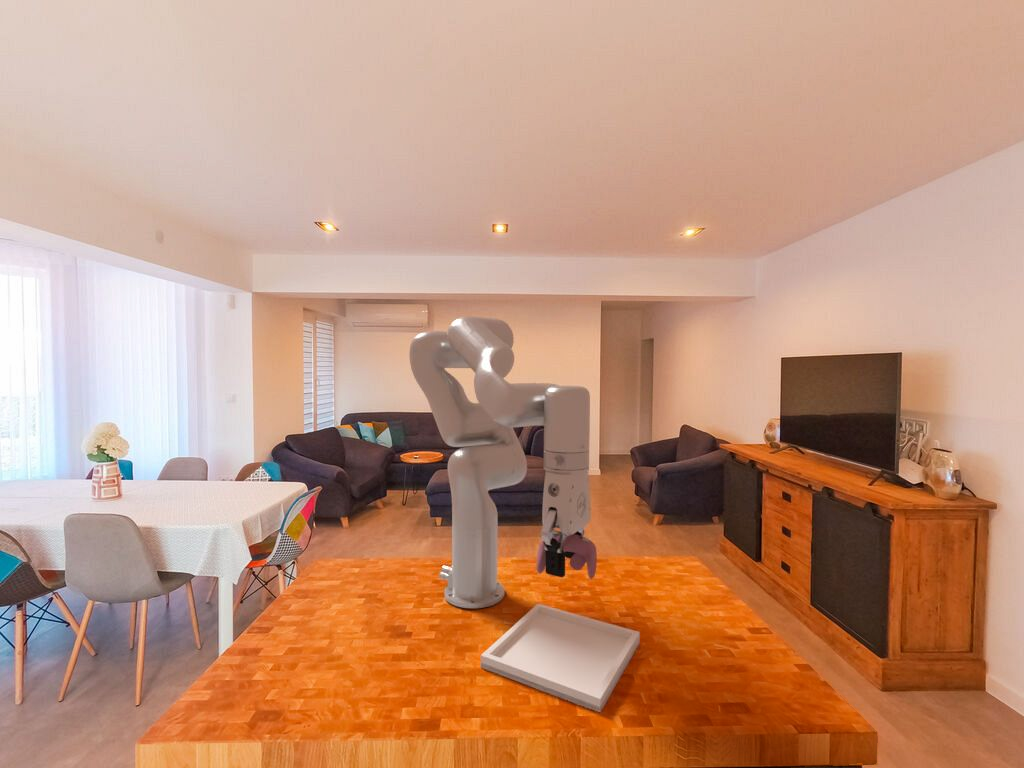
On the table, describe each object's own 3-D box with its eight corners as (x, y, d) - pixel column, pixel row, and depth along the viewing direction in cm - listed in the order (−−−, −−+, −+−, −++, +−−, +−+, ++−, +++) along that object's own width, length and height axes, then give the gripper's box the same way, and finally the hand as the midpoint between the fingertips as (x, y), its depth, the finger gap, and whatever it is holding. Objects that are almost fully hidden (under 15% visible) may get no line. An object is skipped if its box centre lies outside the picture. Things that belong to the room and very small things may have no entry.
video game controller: (596, 580, 80) (598, 537, 83) (595, 579, 76) (597, 533, 79) (538, 574, 82) (541, 532, 85) (533, 572, 78) (537, 528, 81)
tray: (480, 667, 77) (480, 655, 77) (537, 613, 95) (537, 603, 95) (600, 713, 67) (600, 698, 67) (639, 643, 85) (639, 632, 85)
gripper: (565, 472, 71) (564, 592, 71) (605, 454, 86) (604, 554, 86) (521, 466, 74) (519, 581, 75) (566, 450, 89) (565, 546, 90)
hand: (565, 565), depth 81 cm, fingers closed on video game controller, 7 cm apart
